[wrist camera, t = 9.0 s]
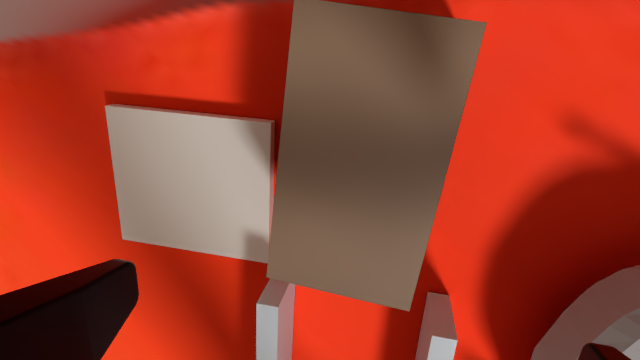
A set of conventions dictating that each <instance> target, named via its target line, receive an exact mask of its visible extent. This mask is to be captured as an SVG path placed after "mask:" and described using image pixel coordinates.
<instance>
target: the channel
mask: <svg viewBox="0 0 640 360" xmlns="http://www.w3.org/2000/svg"><path fill="white" fill-rule="evenodd" d="M294 298H295V284H292V283H288V282H283V281H279V280H275V279H271V278H270V280H269V281H268V283H267V285H266V287H265V289H264V290H263V292H262V294H261V296H260V298H259V299H258V301H257V303H256V360H292V342H293V320H294ZM457 341H458V340H457V335H456V329H455V324H454V318H453V313H452V307H451V302H450V296H449V295H444V294H438V293H432V292H428V293H427V298H426V303H425V309H424V314H423V319H422V325H421V330H420V335H419V341H418V346H417V351H416V357H415V360H453V358H454V354H455V349H456V345H457Z"/></svg>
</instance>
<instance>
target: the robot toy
mask: <svg viewBox="0 0 640 360" xmlns="http://www.w3.org/2000/svg"><path fill="white" fill-rule="evenodd" d="M587 343H597V344H602V345H608V346H612V347H614V348H616V349H617V350H619V351H620V352H622V353H623V354H624V355H626V356H627V357H629V358H630V359H631V360H640V265H637V266H633V267H629V268H625V269H621V270H619V271H618V272H616V273H614V274H612V275H610V276H608V277H606V278H604V279H602V280H600V281H598V282H597V283H595V284H594V285H592V286H591V287H590V288H588V289H587V290H586V291H585V292H583V293H582V294H581V295H580V296H579V297H578V298H577V299H576V300H575V301H574V302H573V303H572V304H571V305H570V306H569V307H568V308H567V309H566V310H565V311H564V312H563V313H562V314H561V315H560V317H559V318H558V319H557V320H556V322H555V323H554V324H553V325H552V327H551V328H550V329H549V330H548V332H547V333H546V334H545V335H544V337H543V338H542V339H541V340H540V342H539V343H538V344H537V345H536V347H535V348H534V351H533V354H532V357H531V360H578V358H579V355H580V353H581V350H582V348H583V346H584V345H585V344H587Z"/></svg>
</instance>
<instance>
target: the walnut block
mask: <svg viewBox="0 0 640 360" xmlns="http://www.w3.org/2000/svg"><path fill="white" fill-rule="evenodd" d="M486 24H487V23H486V22H479V21H471V20H464V19H456V18H449V17H442V16H434V15H427V14H419V13H412V12H404V11H397V10H389V9H382V8H374V7H367V6H359V5H352V4H344V3H337V2H329V1H322V0H294V5H293V15H292V25H291V35H290V45H289V55H288V65H287V75H286V85H285V95H284V105H283V115H282V125H281V135H280V145H279V155H278V165H277V175H276V185H275V195H274V205H273V215H272V225H271V235H270V245H269V255H268V265H267V275H266V277H267V278H271V279H275V280H279V281H283V282H288V283H292V284H296V285H300V286H304V287H308V288H313V289H317V290H321V291H325V292H329V293H334V294H338V295H342V296H346V297H350V298H354V299H359V300H363V301H367V302H371V303H375V304H380V305H384V306H388V307H392V308H396V309H401V310H405V311H410V308H411V304H412V300H413V296H414V293H415V289H416V285H417V281H418V278H419V274H420V270H421V266H422V263H423V259H424V255H425V251H426V248H427V244H428V240H429V237H430V233H431V229H432V225H433V222H434V218H435V214H436V210H437V207H438V203H439V199H440V195H441V192H442V188H443V184H444V181H445V177H446V173H447V169H448V166H449V162H450V158H451V154H452V151H453V147H454V143H455V139H456V136H457V132H458V128H459V125H460V121H461V117H462V113H463V110H464V106H465V102H466V98H467V95H468V91H469V87H470V83H471V80H472V76H473V72H474V69H475V65H476V61H477V57H478V54H479V50H480V46H481V42H482V39H483V35H484V31H485V27H486Z"/></svg>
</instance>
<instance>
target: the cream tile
mask: <svg viewBox="0 0 640 360" xmlns="http://www.w3.org/2000/svg"><path fill="white" fill-rule="evenodd" d="M105 111H106V119H107V126H108V134H109V142H110V149H111V157H112V164H113V172H114V180H115V187H116V195H117V202H118V210H119V218H120V225H121V233H122V239H123V240H129V241H135V242H141V243H147V244H153V245H159V246H165V247H171V248H177V249H183V250H189V251H196V252H202V253H208V254H214V255H220V256H226V257H232V258H238V259H244V260H250V261H256V262H262V263H268V255H269V245H270V235H271V225H272V215H273V194H274V145H275V120H267V119H257V118H247V117H238V116H228V115H218V114H209V113H199V112H189V111H180V110H170V109H160V108H151V107H141V106H131V105H122V104H110V105H105Z"/></svg>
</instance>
